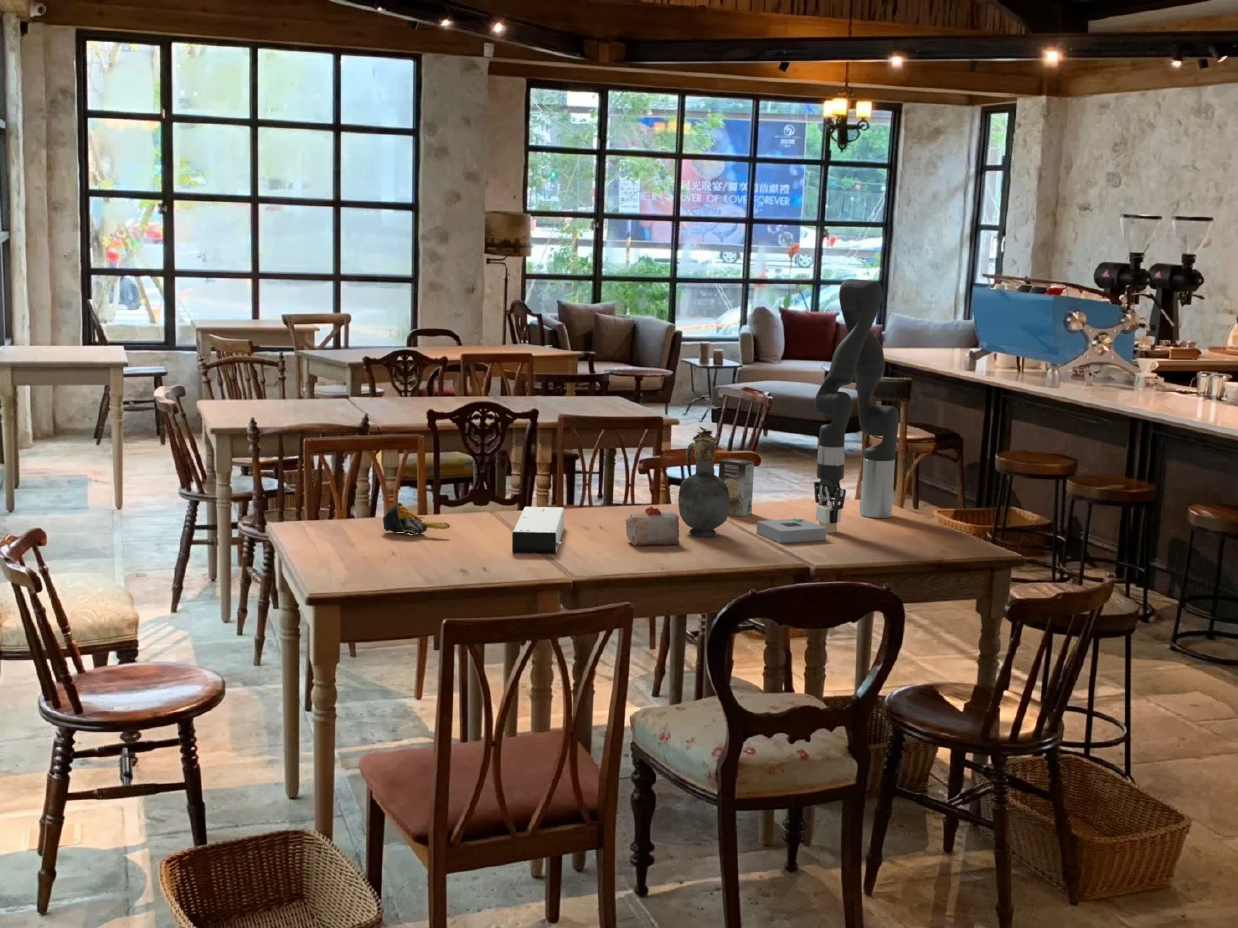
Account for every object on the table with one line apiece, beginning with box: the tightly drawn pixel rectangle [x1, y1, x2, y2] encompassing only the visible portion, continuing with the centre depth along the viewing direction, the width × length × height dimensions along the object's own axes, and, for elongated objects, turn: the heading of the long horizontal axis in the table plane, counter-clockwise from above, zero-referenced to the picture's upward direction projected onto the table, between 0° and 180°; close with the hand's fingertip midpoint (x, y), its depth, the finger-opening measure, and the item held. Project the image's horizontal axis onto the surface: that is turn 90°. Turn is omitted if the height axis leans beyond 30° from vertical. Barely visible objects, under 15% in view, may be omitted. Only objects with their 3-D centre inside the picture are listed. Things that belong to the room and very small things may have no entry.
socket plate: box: [756, 517, 827, 545], centre depth 366 cm, size 14×14×4 cm
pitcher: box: [677, 426, 730, 538], centre depth 367 cm, size 11×19×30 cm, turn 22°
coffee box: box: [718, 457, 755, 517], centre depth 398 cm, size 9×6×16 cm
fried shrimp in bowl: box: [382, 502, 451, 536], centre depth 361 cm, size 9×11×18 cm
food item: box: [625, 505, 680, 547], centre depth 355 cm, size 14×8×10 cm, turn 103°
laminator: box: [511, 506, 565, 555], centre depth 357 cm, size 34×12×6 cm, turn 179°
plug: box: [815, 504, 842, 534], centre depth 375 cm, size 5×5×7 cm
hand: (828, 521), depth 375 cm, fingers closed on plug, 5 cm apart
